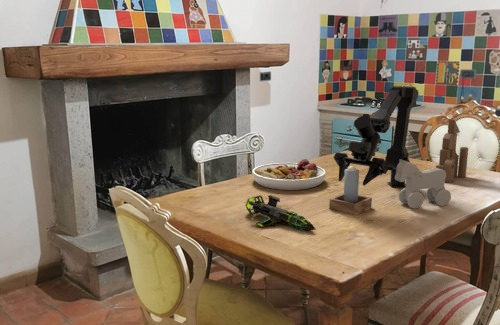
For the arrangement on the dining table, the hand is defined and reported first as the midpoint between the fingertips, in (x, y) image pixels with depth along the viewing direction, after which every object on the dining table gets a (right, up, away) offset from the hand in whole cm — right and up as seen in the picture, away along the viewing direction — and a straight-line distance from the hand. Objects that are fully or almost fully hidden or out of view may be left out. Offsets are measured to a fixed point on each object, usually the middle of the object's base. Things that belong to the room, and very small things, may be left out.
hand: (351, 182), depth 173 cm
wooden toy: (+50, 0, +41) cm, 65 cm away
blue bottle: (0, -8, +2) cm, 8 cm away
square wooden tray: (0, -9, +2) cm, 9 cm away
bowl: (-19, -2, +37) cm, 42 cm away
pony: (+25, -8, +5) cm, 27 cm away
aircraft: (-25, -13, -11) cm, 30 cm away
